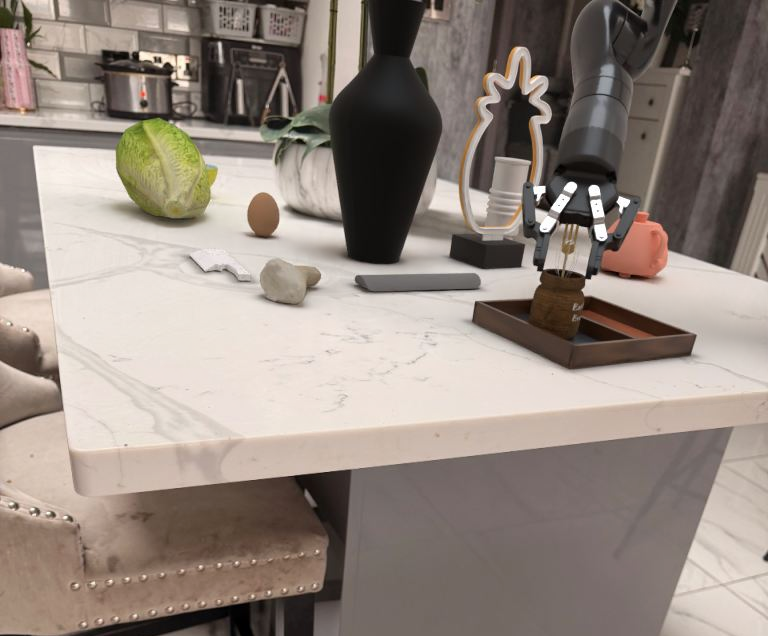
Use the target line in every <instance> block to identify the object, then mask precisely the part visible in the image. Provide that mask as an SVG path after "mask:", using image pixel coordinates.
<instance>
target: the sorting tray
mask: <svg viewBox="0 0 768 636" xmlns="http://www.w3.org/2000/svg"><path fill="white" fill-rule="evenodd" d="M532 300H533V297H531V298H529V297H528V298H511V299H508V298H507V299H489V300H475V301H474V304H473V311H472V317H471V322H472V323H474V324H476V325H478V326H480V327H482V328H485V329H487V330H488V331H490V332H492V333H494V334H496V335H499V336H501V337H502V338H505V339H507V340H509V341H511V342H513V343H515V344H517V345H519V346H521V347H523V348H526V349H528V350H530V351H532V352H534V353H536V354H537V355H540V356H543V357H544V358H547V359H549V360H551V361H553V362H555V363H556V364H559V365H560V366H563V367H565V368H567V369H569V370H573V369H574V370H575V369H582V368H592V367H598V366H599V367H602V366H609V365H619V364H627V363H634V362H635V363H637V362H644V361H654V360H662V359H671V358H680V357H689V356H690V357H691V355H692V352H693V349H694V346H695V343H696V339H697V336H698V334H697V333H695V332H692V331H688V330H685V329H683V328H680V327H678V326H675V325H672V324H671V323H670V324H669V323H667V322H664V321H661V320H659V319H656V318H653V317H651V316H648V315H645V314H643V313H640V312H637V311H634V310H632V309H629V308H626V307H624V306H621V305H618V304H616V303H613V302H610V301H607V300H605V299H602V298H600V297H597V296H594V295H592V294H591V295H590V294H589V295H584V305H583V310H582V315H581V319H580V323H579V327H578V331H577V334H576V335H575V337H573V338H571V339H566V340H565V339H563V338H561V337H559V336H556V335H554V334H552V333H550V332H547V331H545V330H543V329H541V328H538V327H536V326H534V325H532V324H529V323H528V322H529V316H530V310H531V305H532Z"/></svg>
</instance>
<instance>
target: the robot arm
mask: <svg viewBox="0 0 768 636" xmlns="http://www.w3.org/2000/svg"><path fill="white" fill-rule="evenodd" d="M677 3H678V0H644V1H643V7H642V12H641V15H640V16H639V15H638V14H637V13H636V12H634V11H633V10H632V9H630V8H629V7H628V6H626V5H625V4H624V3H622V2H621V1H620V0H591V1H590V2H588V3H587V4H586V5H585V6H584V7H583V8H582V10H581V11H580V13H579V15H578V16H577V18H576V21H575V22H574V26H573V29H572V33H571V37H570V38H571V39H570V63H571V64H570V65H571V74H572V85H573V93H572V97H571V101H570V107H569V109H568V110H569V111H568V114H567V117H566V119H565V122H564V125H563V128H562V132H561V136H560V139H559V143H558V149H557V154H556V158H555V163H554V166H553V170H552V176H551V179H549V180H548V181H547V182H546V184H545V185H538V187H534V185H533V183H532V182H529V181H526V182H525V183H524V184H523V191H522V200H521V201H522V217H523V220H522V232H523V233H522V234H523V237H524V238H525V239H533V240H534V241H535V246H534V252H533V255H532V266H534V267H536V272H538V273H539V272H540V273H542V272H543V270H545V269H544V268H545V264H546V259H547V255H548V251H549V246H550V241H551V239H552V237H553V236H554V235H555V234H556V233H557V232H558V231H559V229H560V228H561V227H562V225H566V223H568V226H569V225H570V226H571V224H573V225H579V227H580V228H586V230H587V234H588V238H589V239H590V242H591V248H590V250H589V255H588V260H587V264H586V270H585V274H584V276H585V279H586V280H592V276H597V275H598V274H599V273H600V269H601V262H602V257H603V252H604V251H606V250H611V251H613V252H616V251H618V250H619V249H620V247H621V245H622V244H623V242H624V240H625V238H626V236H627V234H628V232H629V230H630V228H631V226H632V224H633V222H634V221H635V219H636V217H637V214H638V212H640V211H639V210H640V208H641V205H642V199H641V198H640V197H638V196H632V197H631V198H630V199H628V198H625V197H623V196H620V192H619V190H618V182H619V176H620V172H621V166H622V162H623V156H624V154H625V147H626V141H627V137H628V120H629V115H630V112H631V111H630V110H631V106H632V101H633V97H634V82H635V81H637V80H638V79H639V78H641V77H642V76H643V75H644V74H645V73H646V71H647V70H648V69H649V68H650V66H651V64H652V62H653V61H654V59H655V57H656V54H657V52H658V50H659V46H660V45H661V42H662V39H663V37H664V34H665V32H666V28H667V26H668V24H669V21H670V19H671V17H672V15H673V12H674V10H675V7H676V5H677ZM542 199H545V201H546V203H547V205H548V206H549V208H550V209H549V211H548V213H547V216H546V217H545V218H544V220H543V221H542V223H540V222H538V221H537V218H536V217H537V216H536V208H537V207H538V206H539V205H540V203H541V200H542ZM614 209H616V210H617V217H618V219H619V218H620V221H619V223H618V225H617V227H616V229H615V231H614V233H607V228H606V223H605V222H606V217H605V216H607V215H609V214H610V213H611V212H612V211H613V210H614Z"/></svg>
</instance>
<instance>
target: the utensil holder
mask: <svg viewBox="0 0 768 636" xmlns="http://www.w3.org/2000/svg"><path fill="white" fill-rule="evenodd" d="M575 225H576V224H571V225H570V227H569V225H568V223H566V224H565V226H564V231H563V237H562V242H561V243H560V244H559V246H558V248H557V252H556V256H555V258H557V256H558V261H557V259H555V261H554V268H545V269H543V272H540V276H539V282H540V283H539V285H537V286H536V288H535V290H534V292H533V295H532V298H533V300H532V305H531V310H530V316H529V322H528V323H529V324H532V325H534V326H536V327H538V328H541V329H543V330H545V331H547V332H550V333H552V334H554V335H556V336H559V337H561V338H563V339H565V340H566V339H571V338H573V337H575V335H576V334H577V331H578V327H579V323H580V319H581V315H582V310H583V305H584V296H585V293H584V291H583V289H584V288H585V287H586V280H587V279H585V274H583V273H580V272H577V271H574V269H575V268H576V264H577V262H578V260H575V258H576V259H578V258H579V255H577V257H573V258H572V262H571V265H570V267H569V268H568V269H567V268H566V267H567V262H568V257H569V255H571V254H573V253H574V254H573V256H576V254H579V253H580V248H579V245H578V243H577V239H578V234H579V229H580V226H579V225H576V226H575ZM574 227H575V230H574ZM568 228H569V233H568ZM573 231H574V235H573ZM567 235H568V238H567ZM572 236H573V239H572ZM571 243H572V244H571ZM559 248H560V250H559ZM577 249H578V250H577ZM558 253H559V254H558ZM562 254H564V260H563V263H562V268H559V267H560V266H557V265H559V264H560V258H561V255H562ZM556 261H557V262H556ZM574 261H575V262H574ZM556 263H557V265H556ZM574 264H575V265H574ZM556 266H557V267H556Z"/></svg>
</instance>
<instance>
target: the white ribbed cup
mask: <svg viewBox="0 0 768 636" xmlns="http://www.w3.org/2000/svg"><path fill="white" fill-rule="evenodd" d="M494 161H495V162H494V163H495V164H494V171H493V176H492V183H491V187H490V188H489V190H488V192H489V193H490V194H489V195H488V200H489V201H487V204H486V205H487V206H488V207H486V209H485V212H487V213H486V217H485V221H484V226H483V227H502V226H506V225H507V224H508V223H509V222H510V221H511V219H512V218H513V216H514V215H515V213H516V212H517V210H518V208H519V206H520V204H521V202H522V201H521V200H522V191H523V184H524V183H525V182H527V180H528V175H529V168H530V166H531V165H532V161H531V160H527V159H521V158H515V157H505V156H494ZM519 231H520V225H519V226H518V227H517V228H516V229H515V230H514V231H512V232H510V233H508V234H504V236H503V238H507V239H510V240H513V241H514V239H513V237H517V236H518V235H519Z"/></svg>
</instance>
